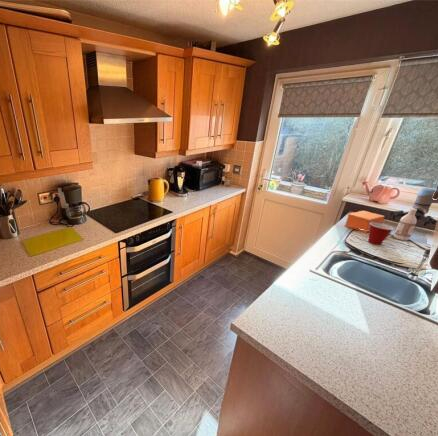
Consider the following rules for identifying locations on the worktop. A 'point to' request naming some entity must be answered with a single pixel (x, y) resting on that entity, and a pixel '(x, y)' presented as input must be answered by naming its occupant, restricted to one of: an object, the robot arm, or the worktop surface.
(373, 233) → the plastic cup
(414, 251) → the worktop surface
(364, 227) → the box
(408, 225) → the bath foam
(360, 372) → the worktop surface
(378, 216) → the lid
